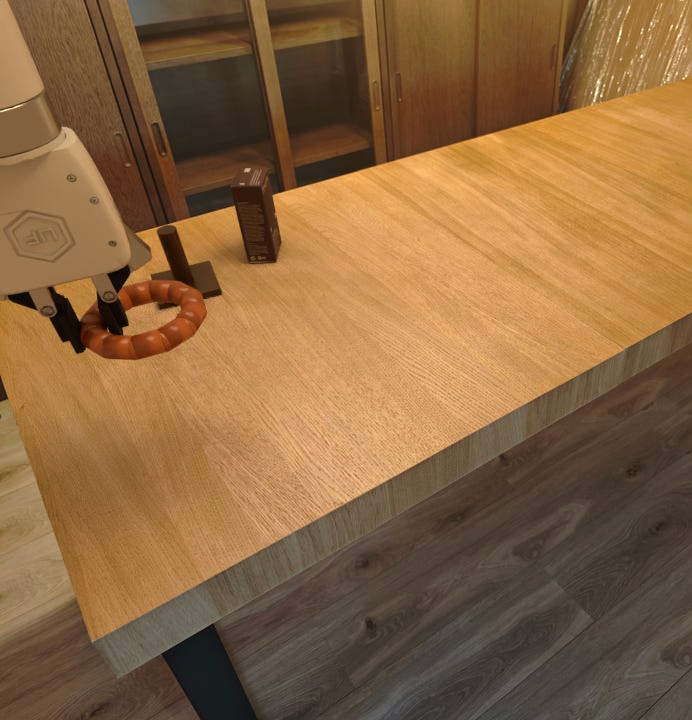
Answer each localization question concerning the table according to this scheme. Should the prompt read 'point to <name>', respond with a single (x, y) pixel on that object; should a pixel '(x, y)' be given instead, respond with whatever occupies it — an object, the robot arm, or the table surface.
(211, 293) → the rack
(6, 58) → the robot arm
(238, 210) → the box
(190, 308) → the ring
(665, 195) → the table surface
